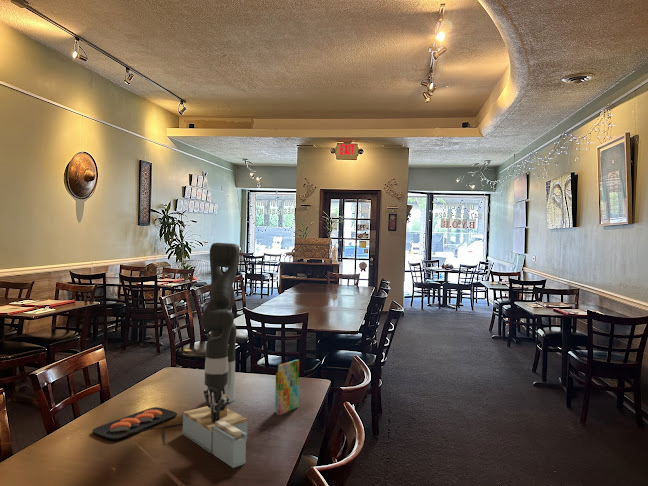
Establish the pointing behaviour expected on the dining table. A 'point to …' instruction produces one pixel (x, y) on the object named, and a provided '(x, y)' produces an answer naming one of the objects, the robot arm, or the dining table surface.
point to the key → (228, 428)
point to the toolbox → (218, 441)
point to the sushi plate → (136, 423)
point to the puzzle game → (287, 387)
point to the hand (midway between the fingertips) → (215, 422)
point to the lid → (204, 417)
